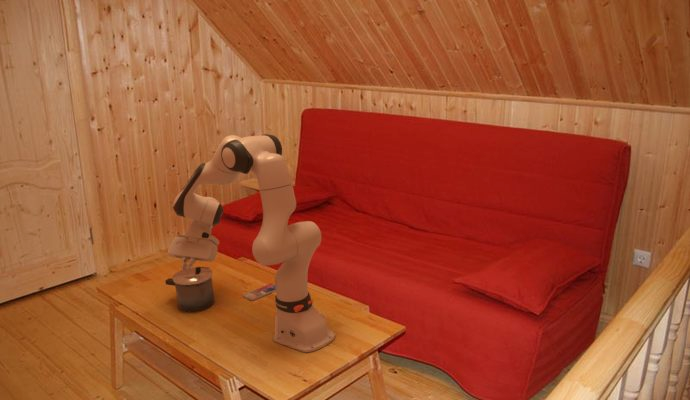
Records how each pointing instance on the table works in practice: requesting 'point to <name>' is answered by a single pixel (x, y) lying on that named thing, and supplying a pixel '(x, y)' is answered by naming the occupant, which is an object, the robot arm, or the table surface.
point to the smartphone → (260, 292)
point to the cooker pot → (194, 296)
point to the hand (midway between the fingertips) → (185, 269)
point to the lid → (192, 276)
